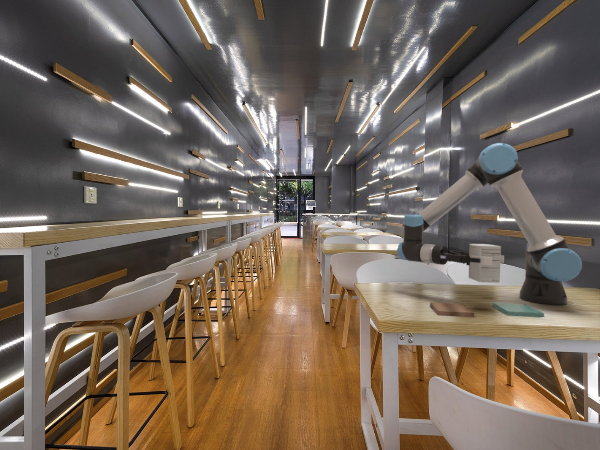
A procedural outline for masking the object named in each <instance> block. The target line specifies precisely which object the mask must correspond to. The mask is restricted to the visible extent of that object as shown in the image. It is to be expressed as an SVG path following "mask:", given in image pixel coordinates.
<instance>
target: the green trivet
mask: <svg viewBox="0 0 600 450" xmlns="http://www.w3.org/2000/svg"><path fill="white" fill-rule="evenodd" d="M492 307H493V308H495V309H496V310H498V311H499V312H501V313H502V314H504V315H505V316H508V317H510V316H511V317H522V318H523V317H526V318H540V317H544V318H545V313H544V312H542V311H540V310H539V309H536V308H534V307H532V306H530V305H527V304H524V303H511V302H510V303H508V302H506V303H505V302H492Z"/></svg>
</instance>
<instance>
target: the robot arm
mask: <svg viewBox="0 0 600 450" xmlns="http://www.w3.org/2000/svg"><path fill="white" fill-rule="evenodd" d="M518 156H519V155H518V152H517V150H516V149H515V148H514V147H513V146H512V145H510V144H508V143H504V142H497V143H493V144H490V145H489V146H487V147H486V148H484V149H483V150H482V151H481V152H480V153H479V156H478V157H477V159H476V160H475V161H474V163H472V165H471V166H470V167H468V169H466V171H465V174H464V175H463V176H462V177H461V178H460V179H458V180H457V181H456V182H454V184H452V185H451V186H450V187H449V188H447V189H446V190H445V191H443V192H442V193H441V194H440V195H439V196H438V197H436V199H434V200H433V201H432V202H430V203H429V204H428V205H427V206H426V207H425V208H423V209H422V210H421V211H419V212H418V213H417V214H405V215H404V218H403V219H404V220H403V242H400V243H399V244H398V246H397V249H396V253H397V254H396V255H397V257H398V258H399V259H400V260H404V261H409V262H415V263H417V262H419V263H426V265H430V264H435V265H442V266H444V265H445V264H446V265H447V263H448V262H453V263H459V264H463V265H465V264H466V266H469V265H470V262H471V264H479V265H488V266H492V257H481V256H471V258H470V256H469V251H468V252H466V251H465V252H464V251H462V250H461V251H458V250H455V249H454V250H449V248H448V247H447V245H445V244H444V245H442V244H434V243H433V244H430V243H423V241H424V239H423V238H424V235H423V234H424V232H425V231H427V230H428V229H429V228H430V227H431V226H433V224H435V223H436V222H437V221H438V220H440V219H441V218H442V217H444V216H445V215H446V214H448V212H450V211H451V210H453V208H455V207H456V206H458V204H460V203H461V202H462V201H464V200H465V199H466V198H467V197H469V196H470V195H471V194H472V193H473V192H474V191H476V190H477V189H479V188H484V187H485V186H486V185H489V186H490V187H493V188H496V189H497V191H498V192H499V194H500V196H501V199H502V200H503V202H504V204H505V205H506V208H507V209H508V210H509V213H510V214H511V215H512V217H513V219H514V221H515V223H516V224H517V226H518V228H519V229H520V231H521V233H522V235H523V236H524V238H525V240H526V242H527V243H526V247H525V279H524V281H523V283H522V286H521V288H520V291H519V298H520V299H521V300H524V301H528V302H532V303H537V304H544V305H554V306H555V305H556V306H561V305H566V304H568V297H567V293H566V290H565V288H564V285H563V282H567V281H571V280H573V279H575V278H576V277H577V276H579V274H580V272H582V268H583V261H582V259H581V257H580V256H579V254H577V253H576V252H575V251H574V250H572V249H571V248H570V247H569V244H568V243H567V241H566V240H565V238H564V237H563V236H560V235H557V234H556V233H555V231H554V229H553V228H552V226H551V225H550V223H549V221H548V220H547V217H546V216H545V214H544V212H543V211H542V209H541V208H540V206H539V204H538V202H537V201H536V199H535V198H534V196H533V194H532V192H531V191H530V189H529V188H528V186H527V184H526V183H525V181H524V179H523V177H522V175H523V172H524V169H523V167H522V166H521V163H520V162H519V161H518V160H519V157H518ZM500 264H505V255H502V254H501V258H500Z"/></svg>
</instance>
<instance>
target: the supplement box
mask: <svg viewBox="0 0 600 450" xmlns="http://www.w3.org/2000/svg"><path fill="white" fill-rule="evenodd" d="M468 250H469V251H468V252H469V256H470V258H471V256H481V257H492V266H488V265H479V264H471V262H470V265H468V279H471V280H474V281H476V282H478V283H494V284H495V283H496V284H497V283H498V284H499V283H500V282H501V263H500V258H501V255H502V254H501V253H502V246H501V245H496V244H489V243H488V244H487V243H469V249H468Z"/></svg>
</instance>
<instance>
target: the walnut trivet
mask: <svg viewBox="0 0 600 450" xmlns="http://www.w3.org/2000/svg"><path fill="white" fill-rule="evenodd" d="M429 306H430V308H431V310H432V311H434V312H435V313H436V314H437V315H438V316H441V317H442V316H443V317H444V316H445V317H461V318H475V312H474V311H473V310H471V309H470V308H469V307H467V306H466V305H465V304H463V303H455V302H454V303H452V302H451V303H450V302H430V303H429Z"/></svg>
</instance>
